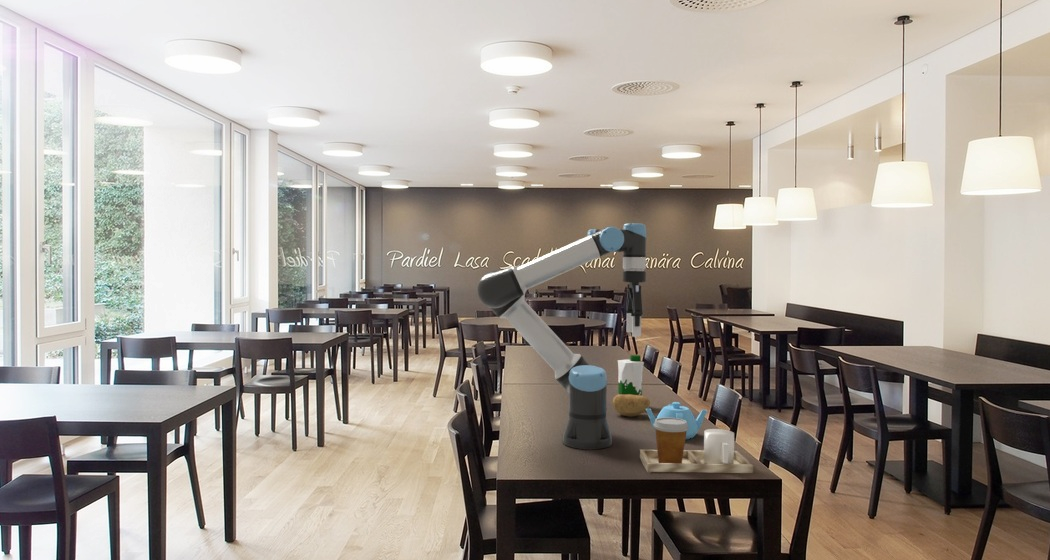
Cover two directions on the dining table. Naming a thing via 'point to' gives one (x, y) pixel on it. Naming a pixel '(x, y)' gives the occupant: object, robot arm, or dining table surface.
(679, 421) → the disposable coffee cup
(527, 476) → the dining table surface
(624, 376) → the milk carton
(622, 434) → the dining table surface
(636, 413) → the potato
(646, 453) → the cup carrier
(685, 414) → the teapot
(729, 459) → the white mug
